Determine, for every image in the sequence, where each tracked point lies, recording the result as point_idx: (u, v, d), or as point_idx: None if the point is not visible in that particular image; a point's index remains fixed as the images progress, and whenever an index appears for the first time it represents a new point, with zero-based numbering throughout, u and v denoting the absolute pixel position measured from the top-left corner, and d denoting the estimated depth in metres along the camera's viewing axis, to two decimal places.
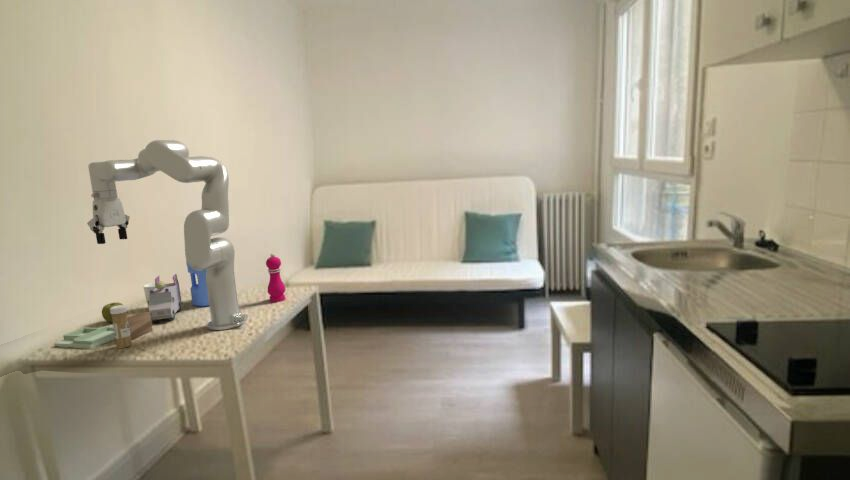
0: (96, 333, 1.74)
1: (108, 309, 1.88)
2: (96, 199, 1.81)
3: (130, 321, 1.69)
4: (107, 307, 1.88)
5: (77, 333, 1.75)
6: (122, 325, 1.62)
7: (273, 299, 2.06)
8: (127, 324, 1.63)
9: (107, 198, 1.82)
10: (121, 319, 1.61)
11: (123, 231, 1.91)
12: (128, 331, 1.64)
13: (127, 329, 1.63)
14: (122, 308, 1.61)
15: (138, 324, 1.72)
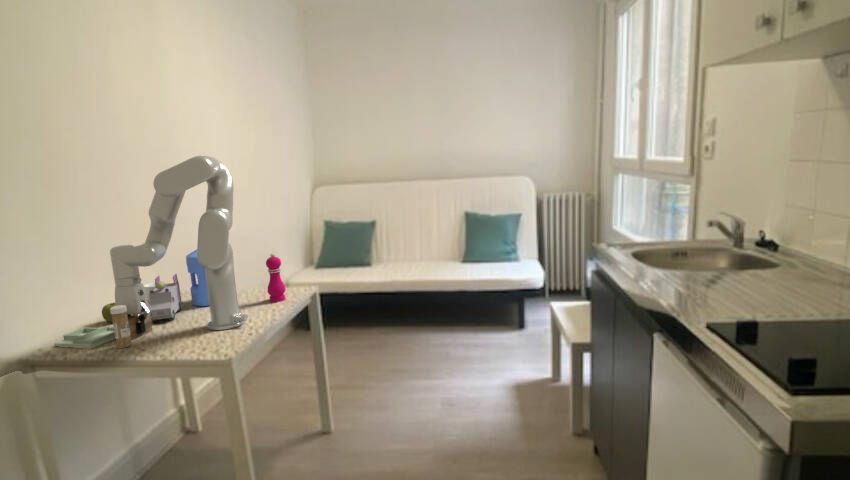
0: (96, 333, 1.74)
1: (108, 309, 1.88)
2: (136, 284, 1.70)
3: (130, 321, 1.69)
4: (107, 307, 1.88)
5: (77, 333, 1.75)
6: (122, 325, 1.62)
7: (273, 299, 2.06)
8: (127, 324, 1.63)
9: (140, 281, 1.73)
10: (121, 319, 1.61)
11: None
12: (128, 331, 1.64)
13: (127, 329, 1.63)
14: (122, 308, 1.61)
15: None
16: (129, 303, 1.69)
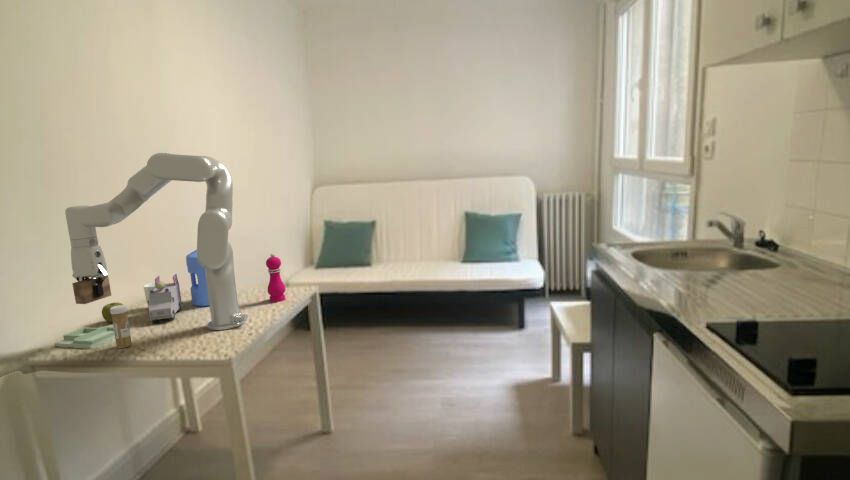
0: (96, 333, 1.74)
1: (108, 309, 1.88)
2: (93, 246, 1.65)
3: (86, 283, 1.65)
4: (107, 307, 1.88)
5: (77, 333, 1.75)
6: (122, 325, 1.62)
7: (273, 299, 2.06)
8: (127, 324, 1.63)
9: None
10: (121, 319, 1.61)
11: None
12: (128, 331, 1.64)
13: (127, 329, 1.63)
14: (122, 308, 1.61)
15: None
16: (85, 265, 1.65)
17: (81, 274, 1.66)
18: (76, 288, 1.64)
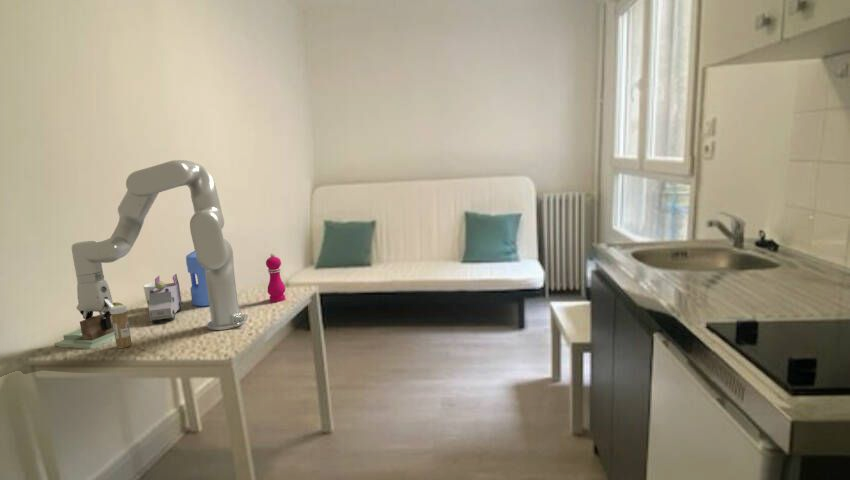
0: None
1: None
2: (99, 281, 1.67)
3: (93, 321, 1.67)
4: None
5: (77, 333, 1.75)
6: (122, 325, 1.62)
7: (273, 299, 2.06)
8: (127, 324, 1.63)
9: None
10: (121, 319, 1.61)
11: None
12: (128, 331, 1.64)
13: (127, 329, 1.63)
14: (122, 308, 1.61)
15: None
16: (91, 300, 1.67)
17: (87, 309, 1.68)
18: (83, 326, 1.66)
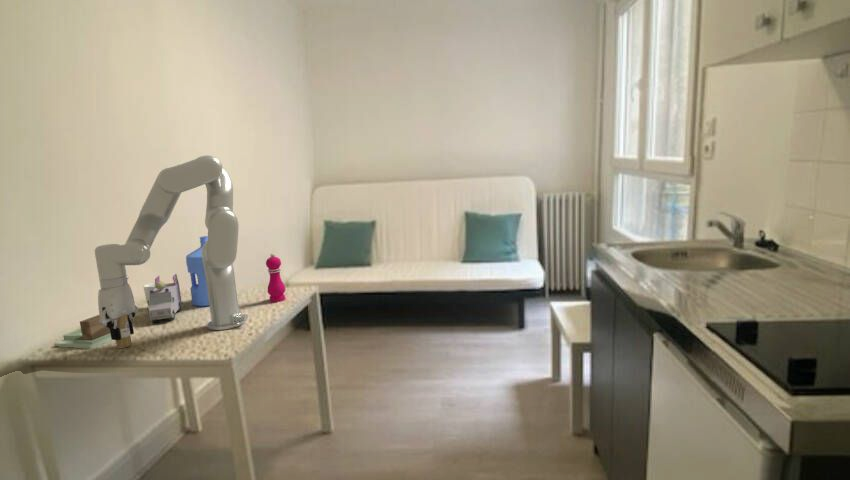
0: None
1: None
2: None
3: (93, 321, 1.67)
4: None
5: (77, 333, 1.75)
6: (122, 325, 1.62)
7: (273, 299, 2.06)
8: (127, 324, 1.63)
9: None
10: (121, 319, 1.61)
11: None
12: (128, 331, 1.64)
13: (127, 329, 1.63)
14: None
15: None
16: (127, 302, 1.63)
17: (121, 314, 1.61)
18: (83, 326, 1.66)
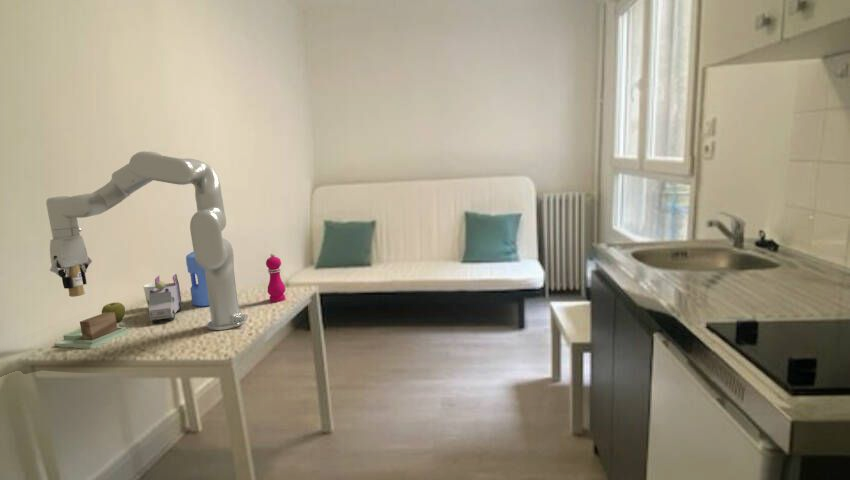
0: None
1: (108, 309, 1.88)
2: None
3: (93, 321, 1.67)
4: (107, 307, 1.88)
5: (77, 333, 1.75)
6: (74, 274, 1.68)
7: (273, 299, 2.06)
8: (79, 274, 1.70)
9: None
10: (72, 268, 1.68)
11: None
12: (80, 280, 1.70)
13: (79, 279, 1.70)
14: None
15: (102, 324, 1.70)
16: (79, 252, 1.70)
17: (73, 263, 1.68)
18: (83, 326, 1.66)
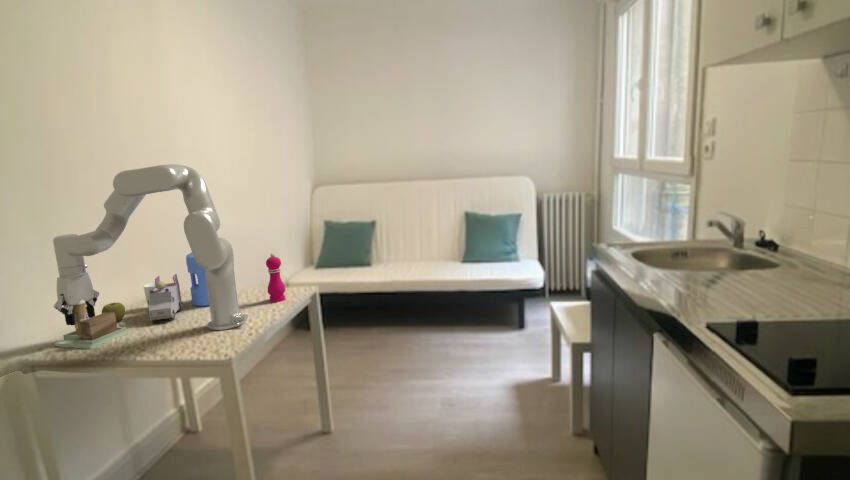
0: None
1: (108, 309, 1.88)
2: None
3: (93, 321, 1.67)
4: (107, 307, 1.88)
5: None
6: (81, 316, 1.71)
7: (273, 299, 2.06)
8: (86, 315, 1.72)
9: None
10: (79, 310, 1.70)
11: None
12: None
13: None
14: None
15: (102, 324, 1.70)
16: (85, 289, 1.72)
17: (79, 301, 1.70)
18: (83, 326, 1.66)
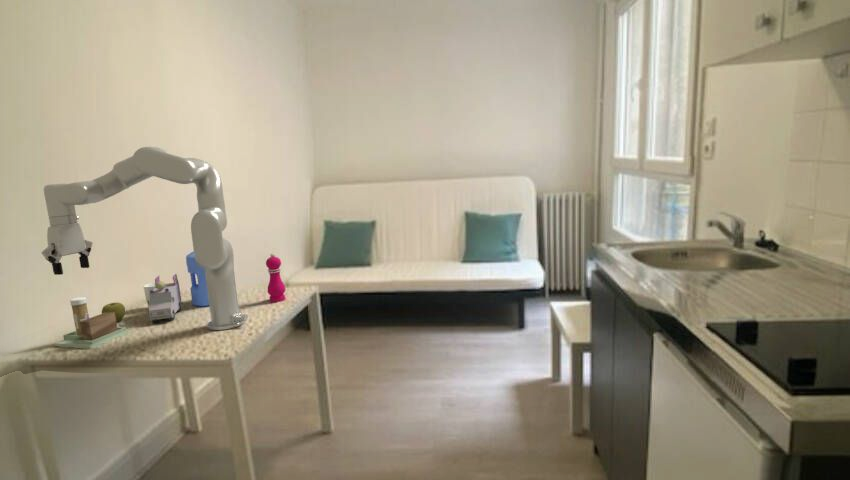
0: None
1: (108, 309, 1.88)
2: None
3: (93, 321, 1.67)
4: (107, 307, 1.88)
5: None
6: (82, 316, 1.71)
7: (273, 299, 2.06)
8: (87, 315, 1.73)
9: None
10: (80, 310, 1.71)
11: None
12: None
13: None
14: (82, 300, 1.71)
15: (102, 324, 1.70)
16: (77, 240, 1.69)
17: (70, 251, 1.67)
18: (83, 326, 1.66)
